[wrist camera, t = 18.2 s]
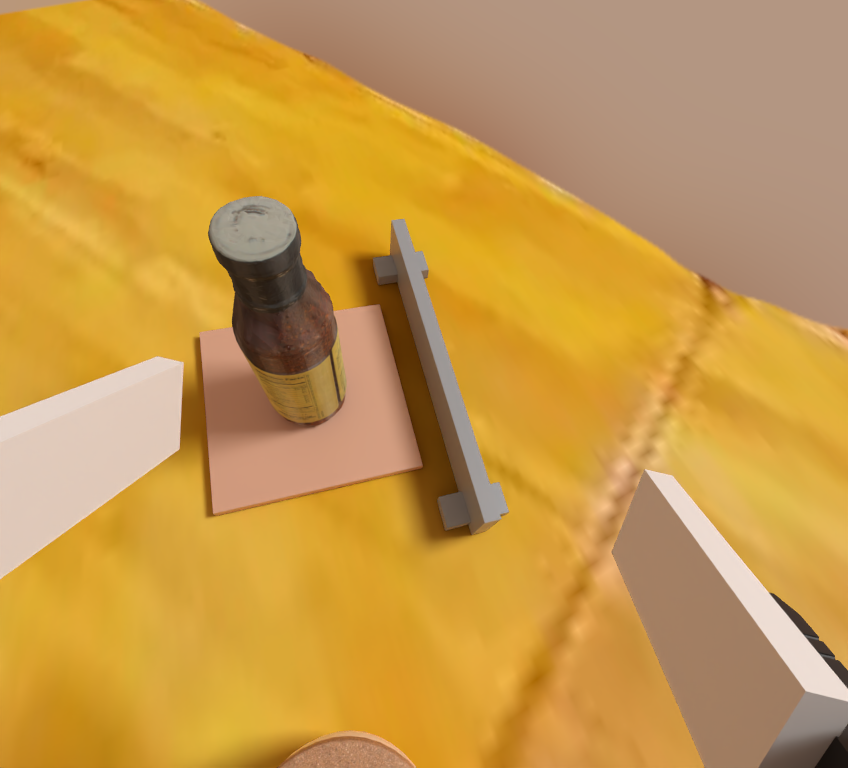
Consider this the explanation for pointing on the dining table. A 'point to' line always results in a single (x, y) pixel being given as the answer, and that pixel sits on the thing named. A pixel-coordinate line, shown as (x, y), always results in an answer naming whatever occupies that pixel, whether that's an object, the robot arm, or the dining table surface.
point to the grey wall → (442, 390)
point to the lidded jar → (348, 752)
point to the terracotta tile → (298, 444)
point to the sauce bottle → (280, 310)
